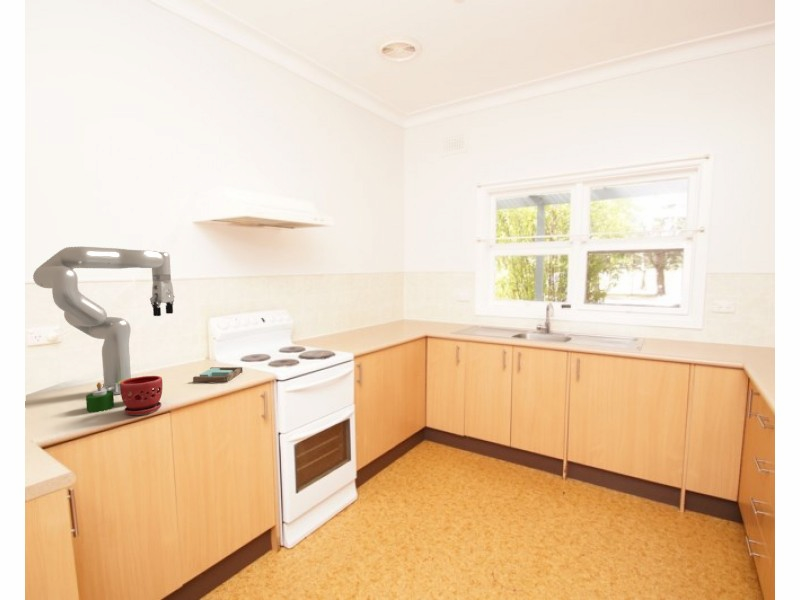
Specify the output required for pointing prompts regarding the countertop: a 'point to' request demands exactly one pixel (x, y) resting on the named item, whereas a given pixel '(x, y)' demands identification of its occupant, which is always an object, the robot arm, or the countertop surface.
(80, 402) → the countertop surface
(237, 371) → the walnut bay
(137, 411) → the plant pot
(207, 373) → the teal T-block
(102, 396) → the candle
